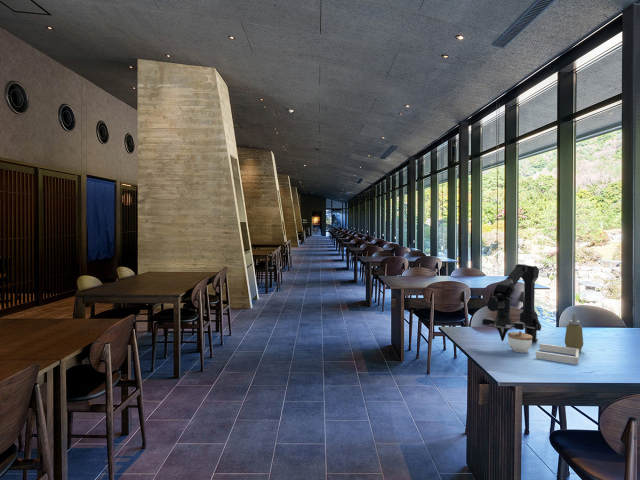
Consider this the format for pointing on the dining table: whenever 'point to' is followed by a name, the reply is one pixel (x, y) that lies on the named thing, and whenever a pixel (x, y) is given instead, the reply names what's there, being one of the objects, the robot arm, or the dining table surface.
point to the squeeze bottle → (574, 334)
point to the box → (557, 356)
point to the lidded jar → (519, 341)
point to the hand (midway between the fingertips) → (502, 340)
